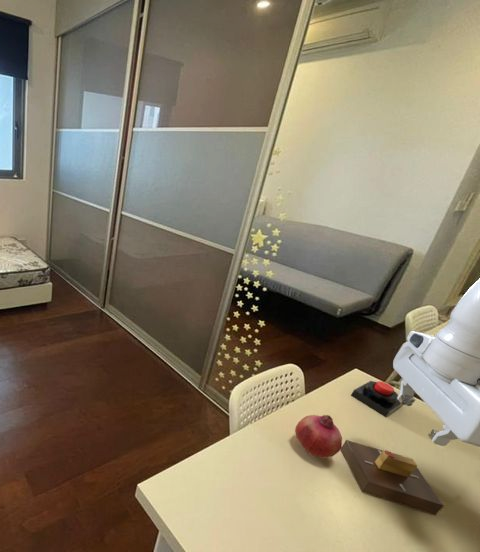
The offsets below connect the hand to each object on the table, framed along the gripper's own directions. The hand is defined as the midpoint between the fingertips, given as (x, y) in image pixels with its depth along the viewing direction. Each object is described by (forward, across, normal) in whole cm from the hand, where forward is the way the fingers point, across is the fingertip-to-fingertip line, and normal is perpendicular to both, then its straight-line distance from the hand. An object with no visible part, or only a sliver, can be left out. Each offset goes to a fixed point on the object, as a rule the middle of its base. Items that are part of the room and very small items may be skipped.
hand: (418, 420), depth 60 cm
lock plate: (+16, 0, -1) cm, 16 cm away
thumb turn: (+13, 0, -1) cm, 13 cm away
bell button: (+12, +27, -12) cm, 32 cm away
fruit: (+16, +2, +12) cm, 20 cm away
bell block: (+16, +27, -12) cm, 34 cm away
